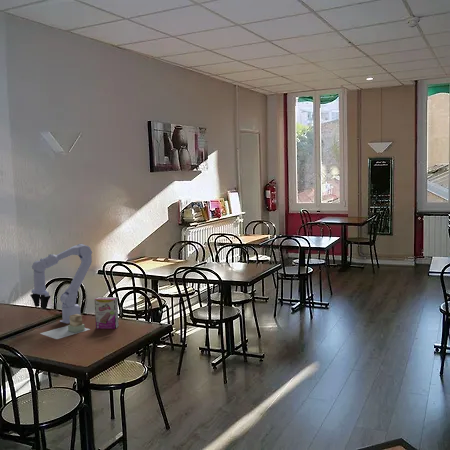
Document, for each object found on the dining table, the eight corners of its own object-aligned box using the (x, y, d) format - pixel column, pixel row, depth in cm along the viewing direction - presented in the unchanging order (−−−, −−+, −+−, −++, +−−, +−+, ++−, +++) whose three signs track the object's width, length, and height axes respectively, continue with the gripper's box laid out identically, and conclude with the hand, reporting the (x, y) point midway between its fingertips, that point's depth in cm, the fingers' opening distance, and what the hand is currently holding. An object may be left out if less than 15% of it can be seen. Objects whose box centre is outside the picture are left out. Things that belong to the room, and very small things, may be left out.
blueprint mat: (73, 324, 287) (73, 324, 287) (90, 330, 277) (90, 329, 277) (39, 334, 272) (39, 333, 272) (56, 340, 262) (56, 339, 262)
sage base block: (78, 327, 280) (77, 322, 279) (84, 329, 276) (84, 324, 275) (68, 330, 275) (67, 325, 275) (74, 332, 271) (74, 327, 271)
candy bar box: (95, 329, 278) (93, 299, 276) (98, 326, 282) (97, 296, 281) (116, 329, 276) (114, 299, 275) (119, 326, 281) (117, 296, 280)
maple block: (77, 323, 278) (76, 313, 278) (82, 324, 275) (81, 315, 275) (69, 325, 275) (69, 315, 274) (74, 326, 272) (74, 317, 271)
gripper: (25, 282, 285) (27, 307, 286) (39, 286, 276) (41, 311, 277) (37, 280, 290) (39, 304, 292) (52, 283, 281) (53, 308, 282)
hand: (40, 307), depth 285 cm, fingers open, 7 cm apart
